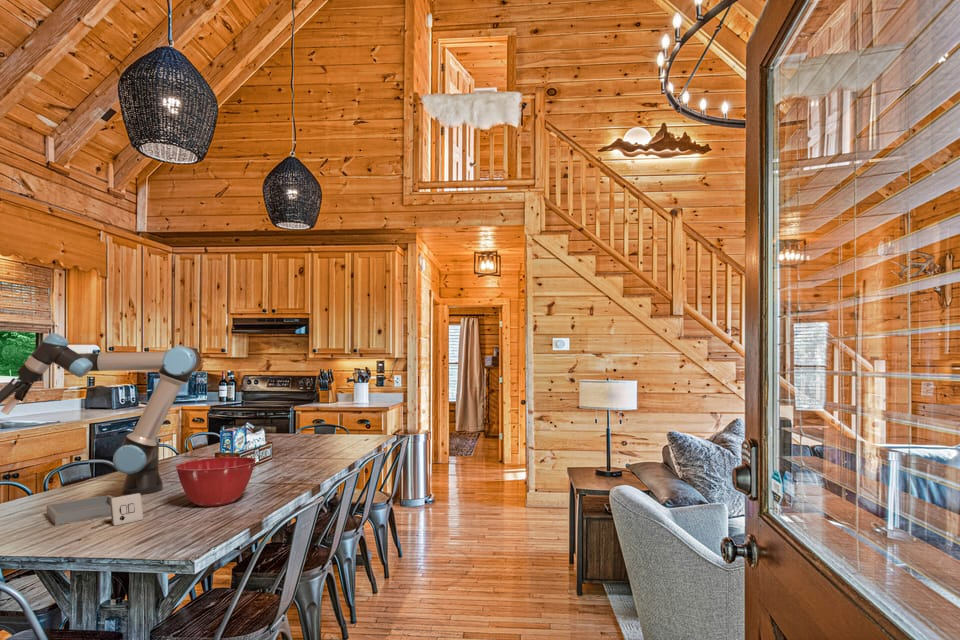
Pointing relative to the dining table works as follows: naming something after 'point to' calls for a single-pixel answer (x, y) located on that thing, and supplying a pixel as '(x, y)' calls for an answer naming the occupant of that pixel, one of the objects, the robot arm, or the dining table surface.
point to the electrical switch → (126, 509)
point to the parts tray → (80, 510)
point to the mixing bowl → (215, 479)
